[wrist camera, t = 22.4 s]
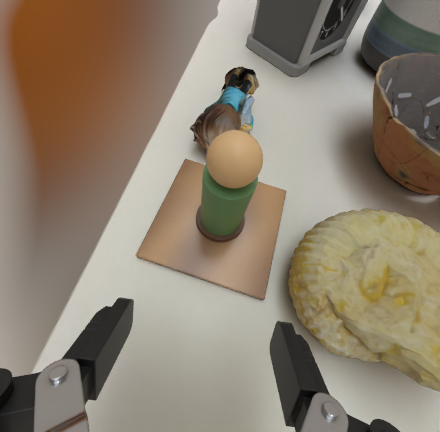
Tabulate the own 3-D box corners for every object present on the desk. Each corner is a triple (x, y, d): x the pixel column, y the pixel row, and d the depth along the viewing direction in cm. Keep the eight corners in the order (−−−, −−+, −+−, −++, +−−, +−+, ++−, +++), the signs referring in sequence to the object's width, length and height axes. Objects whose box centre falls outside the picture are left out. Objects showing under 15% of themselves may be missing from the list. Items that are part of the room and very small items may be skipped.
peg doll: (192, 238, 24) (189, 164, 13) (200, 195, 27) (204, 103, 16) (241, 246, 24) (280, 180, 13) (245, 203, 27) (280, 117, 16)
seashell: (331, 223, 31) (249, 264, 23) (407, 170, 22) (314, 208, 15) (430, 346, 25) (360, 453, 17) (587, 339, 16) (580, 547, 9)
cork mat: (136, 257, 23) (135, 255, 23) (185, 161, 30) (185, 158, 29) (262, 300, 23) (264, 299, 22) (284, 193, 29) (286, 190, 29)
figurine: (185, 153, 30) (183, 116, 25) (221, 89, 37) (225, 49, 32) (237, 171, 30) (246, 136, 24) (263, 102, 37) (275, 64, 32)
